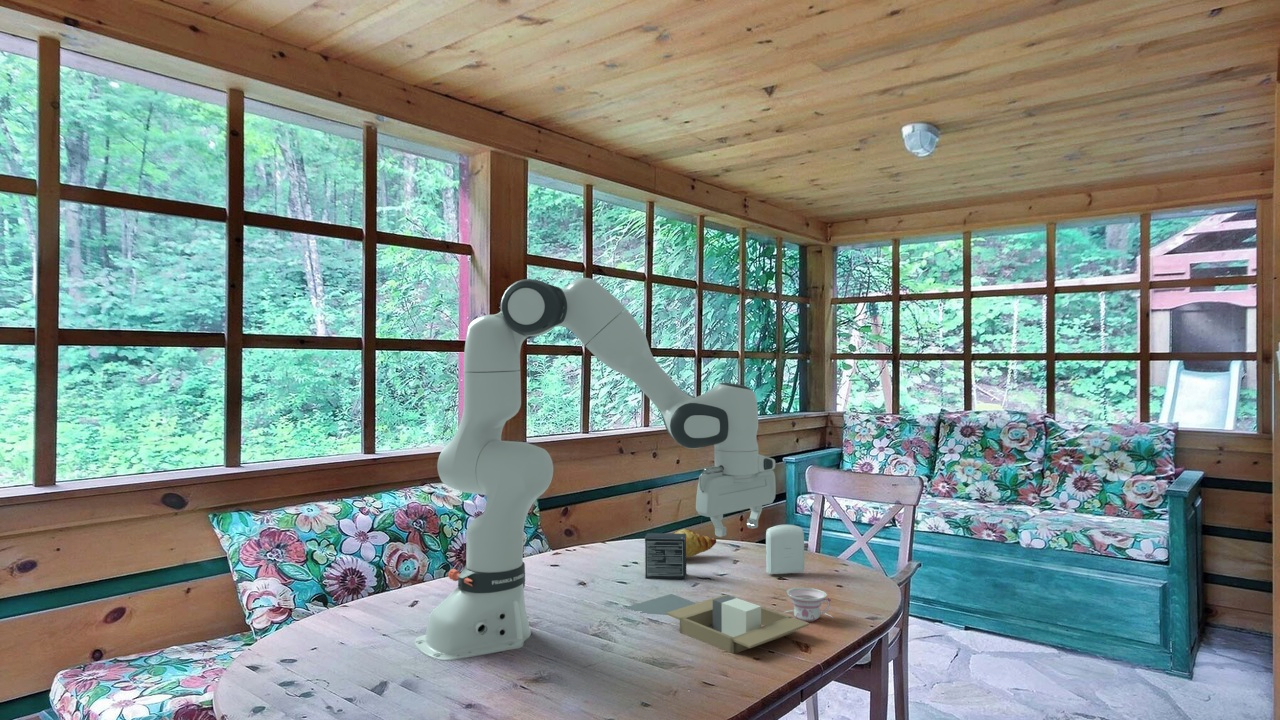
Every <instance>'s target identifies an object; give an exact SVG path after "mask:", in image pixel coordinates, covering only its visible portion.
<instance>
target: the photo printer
mask: <svg viewBox="0 0 1280 720" xmlns="http://www.w3.org/2000/svg"><path fill="white" fill-rule="evenodd" d="M765 531H766V532H765V547H766V548H765V560H766V561H765V564H766V566H765V567H766V569H765V570H766V573H767V574H769V575H774V574H775V575H777V574H778V575H779V574H791V573H792V574H793V573H794V574H795V573H804V572H805V533H804V529H803V527H801V526H798V525H795V524H778V525H774V526H772V527H768V528H767V529H766V530H765Z"/></svg>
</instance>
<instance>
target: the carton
mask: <svg viewBox="0 0 1280 720" xmlns="http://www.w3.org/2000/svg"><path fill="white" fill-rule="evenodd" d="M726 595H727V594H722V595H719V596H715V597H713V598H709V599H706V600H702V601H699V602H695V603H696V604H693V605H690V606H686V607H683V608H680V609H677V610H673V611H670V612H667V613H666V615H665V616H668V617H672V618H674V619H675V620H676V619H677V620H679V633H680V634H681V635H684V636H686V635H687V637H689V638H693V639H694V640H696V641H700V642H702V643H705V644H707V645H710V646H711V647H715V648H718V649H721V650H722V651H725V652H728V653H730V654H733V655H734V654H738V653H740V652H743V651H746V650H749V649H752V648H755V647H757V646H760V645H764V644H766V643H768V642H772V641H775V640H778V639H780V638H783V637H786V636H789V635H792V634H794V632H796V631H798V630H800V629H804V628H805V627H808V626H810V622H805V621H802V620H799V619H798V618H796V617H794V616H793V617H792V616H790V615H787V614H785V613H782V612H779V611H776V610H773V609H770V608H766V607H763V606H761V627H760V628H757V629H754V630H752V631H749V632H746V633H743V634H741V635H738V636H735V637H732V636H729V635H727V634H724V633H722V632H719V631H717V630H714V629H713V627H710V626H713V599H717V598H720V597H723V596H726ZM781 613H782V614H781ZM762 625H763V626H762Z"/></svg>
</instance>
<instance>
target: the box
mask: <svg viewBox="0 0 1280 720" xmlns="http://www.w3.org/2000/svg"><path fill="white" fill-rule="evenodd" d="M761 607H762V606H761V605H759V604H755V603H752V602H749V601H747V600H743V599H741V598H737V597H734V596H732V595H728V594H726V596H723V597H720V598H717V599H713V625H712V629H714V630H717V631H719V632H722V633H724V634H727V635H729V636H732V637H735V636H738V635H741V634H743V633H746V632H749V631H752V630H754V629H757V628H760V627H762V624H761Z"/></svg>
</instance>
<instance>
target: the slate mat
mask: <svg viewBox="0 0 1280 720" xmlns="http://www.w3.org/2000/svg"><path fill="white" fill-rule="evenodd" d="M696 603H697V602H695V601H693V600H690V599H688V598H684V597H681V596H679V595H676V594H673V593H670V594H666V595H663V596H659V597H657V598H656V597H655V598H652V599H649V600H646V601H642V602H638V603H635V604H631V605H628V606H625V607H626V608H625V609H628V610H630V609H631V611H633V610H634V611H633V612H636V611H642V612H640V613H639V614H643V613H647V614H646V615H661V616H667V615H666V613H667V612H670V611H673V610H677V609H680V608H683V607H686V606H690V605H693V604H696Z"/></svg>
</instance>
